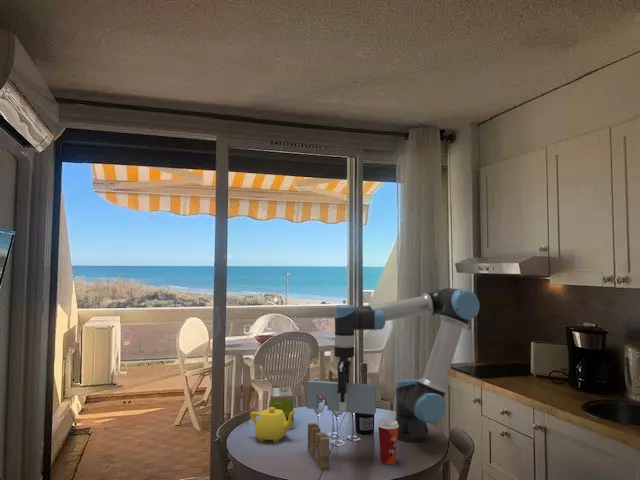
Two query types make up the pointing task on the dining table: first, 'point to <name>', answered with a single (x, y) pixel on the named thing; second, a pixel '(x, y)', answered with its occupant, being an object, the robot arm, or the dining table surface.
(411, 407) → the robot arm
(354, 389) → the slate board
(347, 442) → the dining table surface
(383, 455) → the paper cup
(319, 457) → the notched walnut block
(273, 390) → the tea box
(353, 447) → the dining table surface
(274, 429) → the teapot
